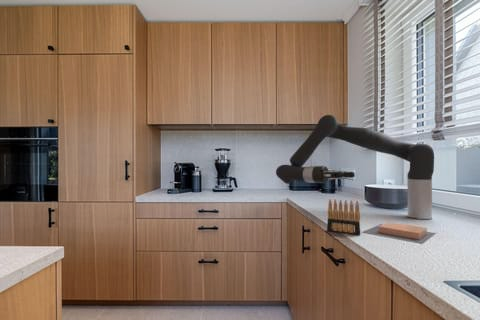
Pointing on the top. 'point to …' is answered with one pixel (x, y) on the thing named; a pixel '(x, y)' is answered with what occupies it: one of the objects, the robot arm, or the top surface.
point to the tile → (403, 230)
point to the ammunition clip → (343, 218)
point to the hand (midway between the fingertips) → (353, 174)
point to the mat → (375, 232)
